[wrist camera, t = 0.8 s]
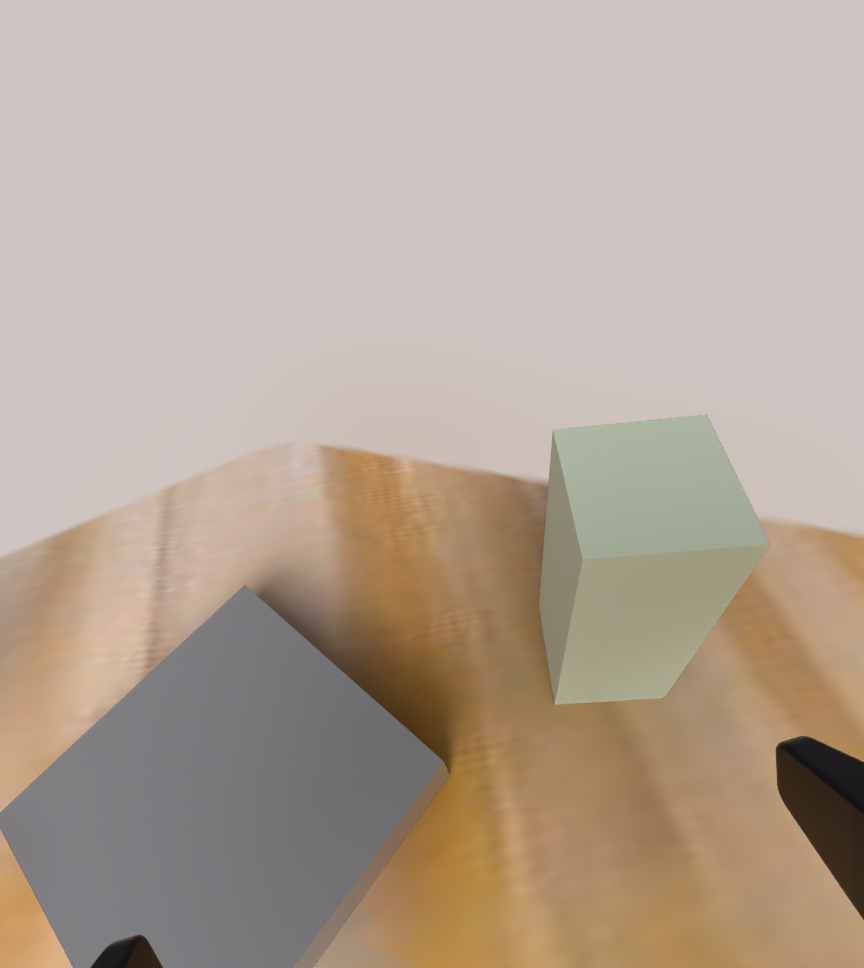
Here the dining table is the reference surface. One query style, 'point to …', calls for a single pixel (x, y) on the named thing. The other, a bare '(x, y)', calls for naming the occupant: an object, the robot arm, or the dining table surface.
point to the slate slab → (223, 804)
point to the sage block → (639, 554)
